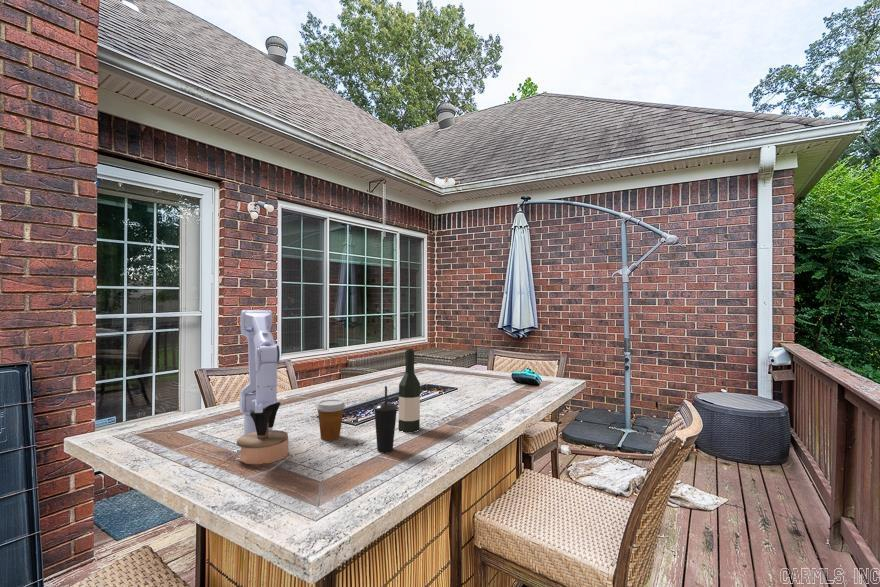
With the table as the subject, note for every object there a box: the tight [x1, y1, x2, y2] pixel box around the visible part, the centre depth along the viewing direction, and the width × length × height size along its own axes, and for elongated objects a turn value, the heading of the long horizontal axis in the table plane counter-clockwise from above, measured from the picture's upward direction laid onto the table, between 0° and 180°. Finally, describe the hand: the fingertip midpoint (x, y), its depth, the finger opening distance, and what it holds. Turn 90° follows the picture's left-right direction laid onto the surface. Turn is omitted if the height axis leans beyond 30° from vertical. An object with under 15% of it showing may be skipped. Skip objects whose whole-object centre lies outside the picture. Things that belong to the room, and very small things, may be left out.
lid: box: [236, 423, 289, 448], centre depth 118 cm, size 14×14×5 cm
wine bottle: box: [397, 347, 421, 433], centre depth 147 cm, size 8×8×30 cm
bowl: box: [240, 437, 289, 465], centre depth 118 cm, size 13×13×5 cm
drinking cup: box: [373, 385, 399, 454], centre depth 125 cm, size 8×8×20 cm
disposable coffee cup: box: [316, 399, 346, 441], centre depth 137 cm, size 10×10×12 cm
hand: (265, 431), depth 119 cm, fingers open, 7 cm apart
